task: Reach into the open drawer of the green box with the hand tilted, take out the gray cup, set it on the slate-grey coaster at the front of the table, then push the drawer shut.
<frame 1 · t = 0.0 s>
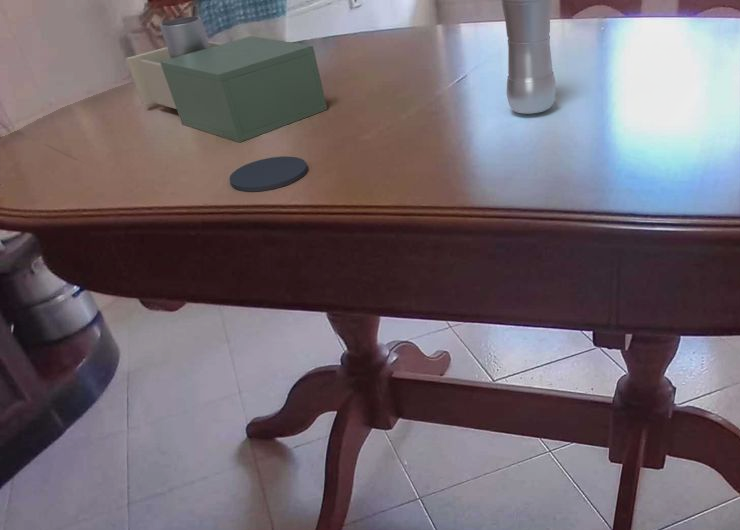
drawer: (190, 73, 109), point 4 cm above the table, slide at 12.0 cm, touching gray cup
coaster: (269, 175, 83), on the table
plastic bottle: (532, 112, 93), on the table
gray cup: (203, 90, 109), point 2 cm above the table, touching drawer
green box: (254, 116, 102), on the table
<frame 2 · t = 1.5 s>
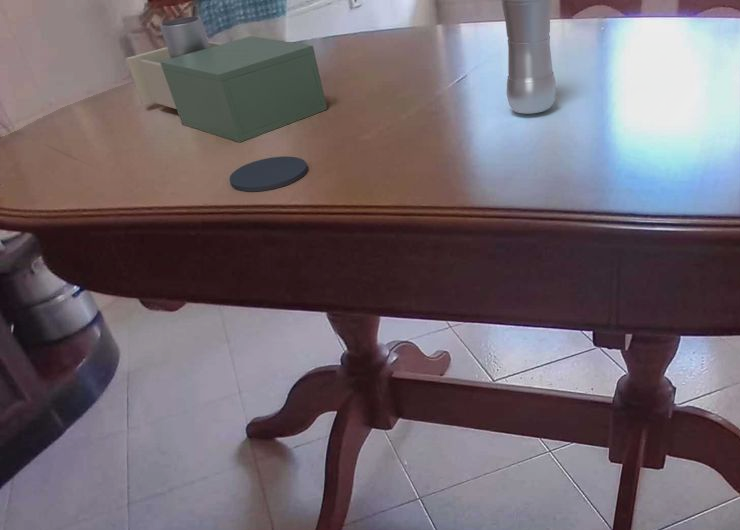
nothing on the table moved.
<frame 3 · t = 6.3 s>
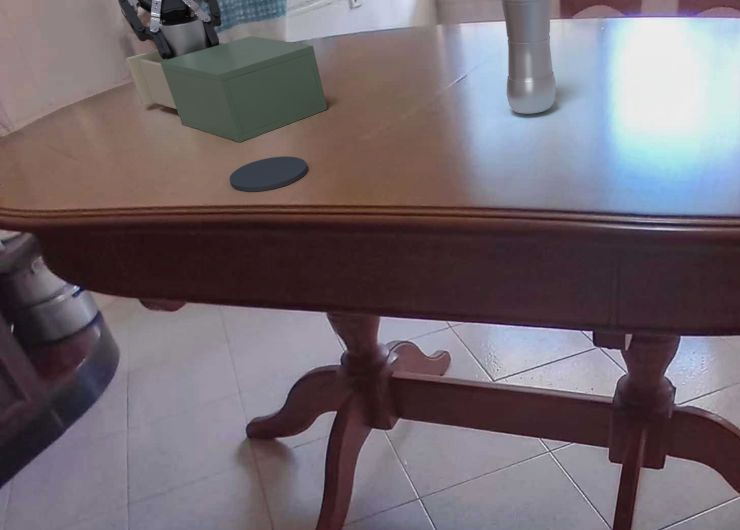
hand: (192, 53, 104), 8 cm above the table, tool tilted 45°, fingers closed on gray cup, 6 cm apart
gray cup: (203, 90, 109), point 2 cm above the table, touching drawer, gripper
everything else where it was.
when the fingers open (6 cm above the table, at t = 17.9 s): gray cup stays where it is, resting on coaster.
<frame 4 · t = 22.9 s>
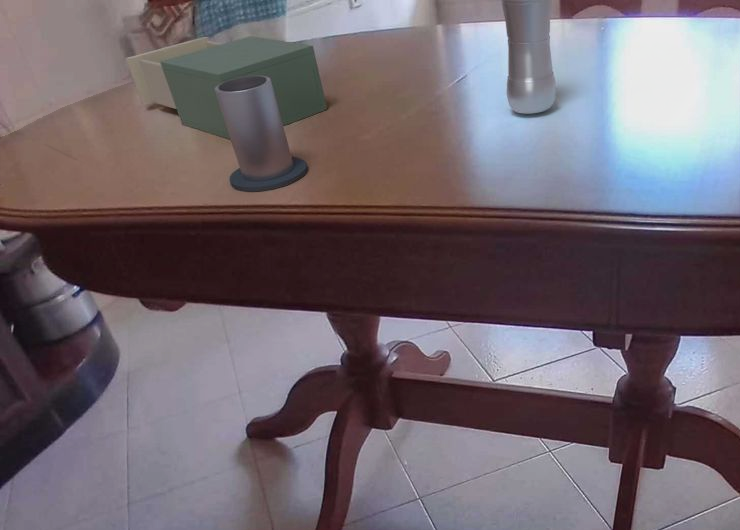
drawer: (190, 73, 109), point 4 cm above the table, slide at 12.0 cm
gray cup: (268, 170, 82), point 1 cm above the table, touching coaster
everything else where it was.
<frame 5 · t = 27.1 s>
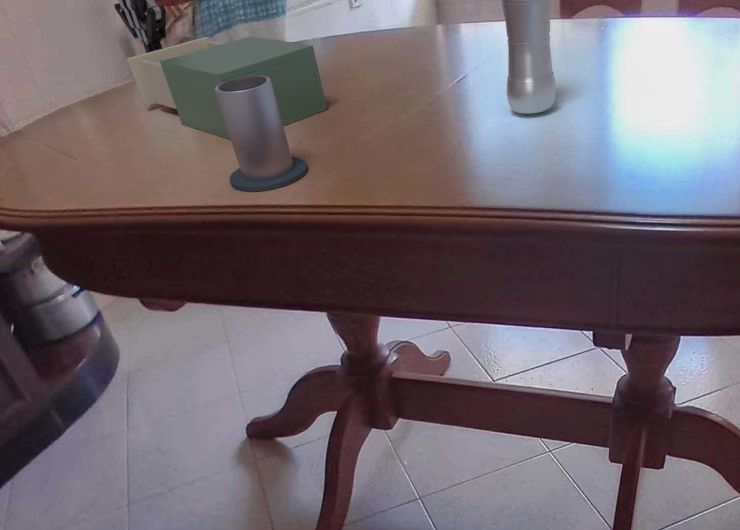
hand: (160, 66, 115), 4 cm above the table, tool pointing down, fingers closed
drawer: (191, 73, 108), point 4 cm above the table, slide at 11.6 cm, touching gripper
everything else where it was.
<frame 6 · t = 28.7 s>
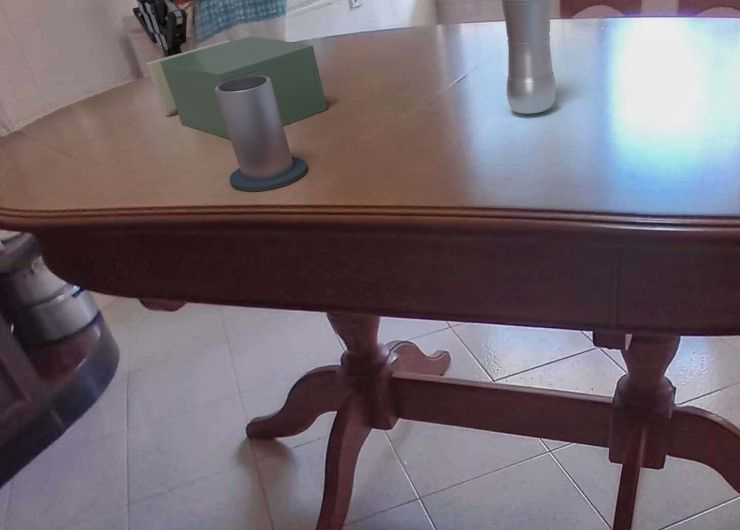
hand: (179, 72, 111), 4 cm above the table, tool pointing down, fingers closed
drawer: (213, 78, 105), point 4 cm above the table, slide at 5.1 cm, touching gripper
everything else where it was.
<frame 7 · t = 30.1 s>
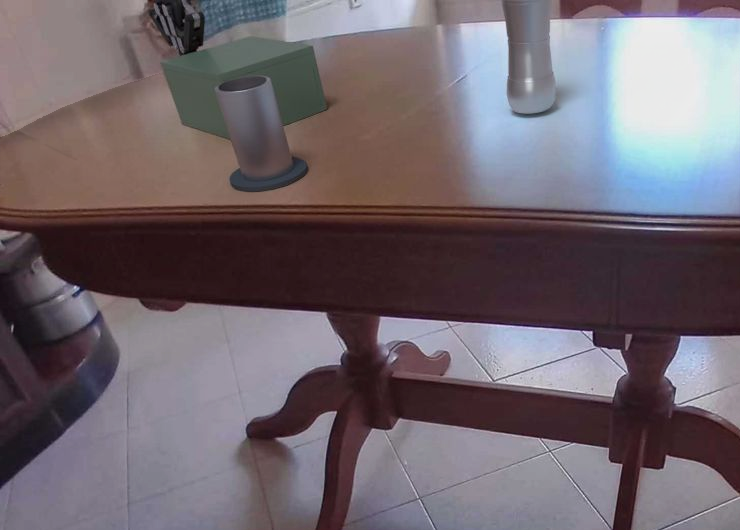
hand: (195, 76, 108), 4 cm above the table, tool pointing down, fingers closed
drawer: (231, 82, 102), point 4 cm above the table, slide at 0.0 cm, touching green box, gripper
everything else where it was.
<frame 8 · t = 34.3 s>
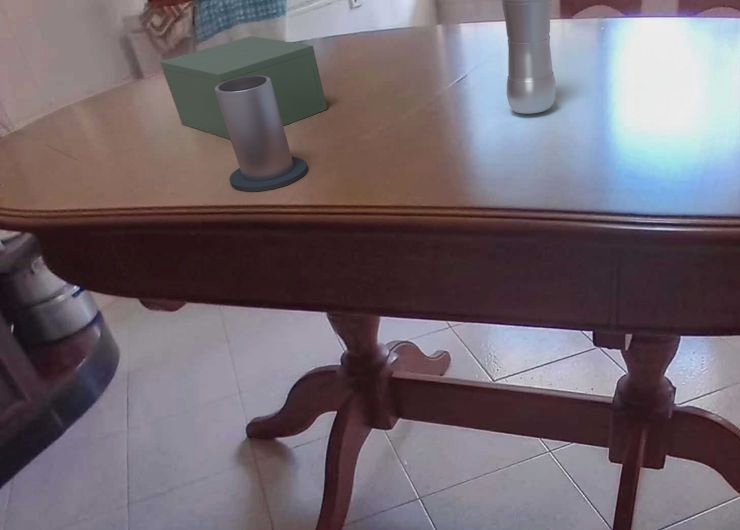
drawer: (231, 82, 102), point 4 cm above the table, slide at 0.0 cm, touching green box
everything else where it was.
at the end: gray cup inside the target area on the coaster (0.0 cm from its centre), point 0.6 cm above the coaster's base; gray cup tilted 0°; drawer slide at 0.0 cm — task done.
